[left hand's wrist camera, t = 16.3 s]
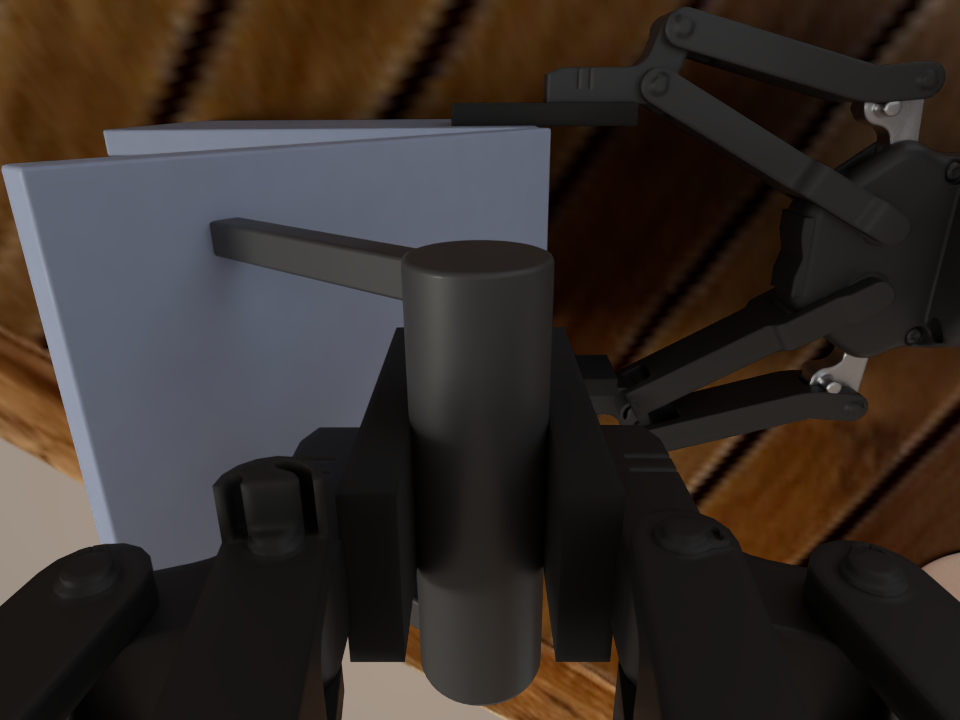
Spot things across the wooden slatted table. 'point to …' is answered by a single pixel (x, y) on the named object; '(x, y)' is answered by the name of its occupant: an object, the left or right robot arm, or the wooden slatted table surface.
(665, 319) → the wooden slatted table surface
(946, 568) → the anatomical model
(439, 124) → the chest
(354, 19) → the wooden slatted table surface
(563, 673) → the wooden slatted table surface
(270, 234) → the lid
